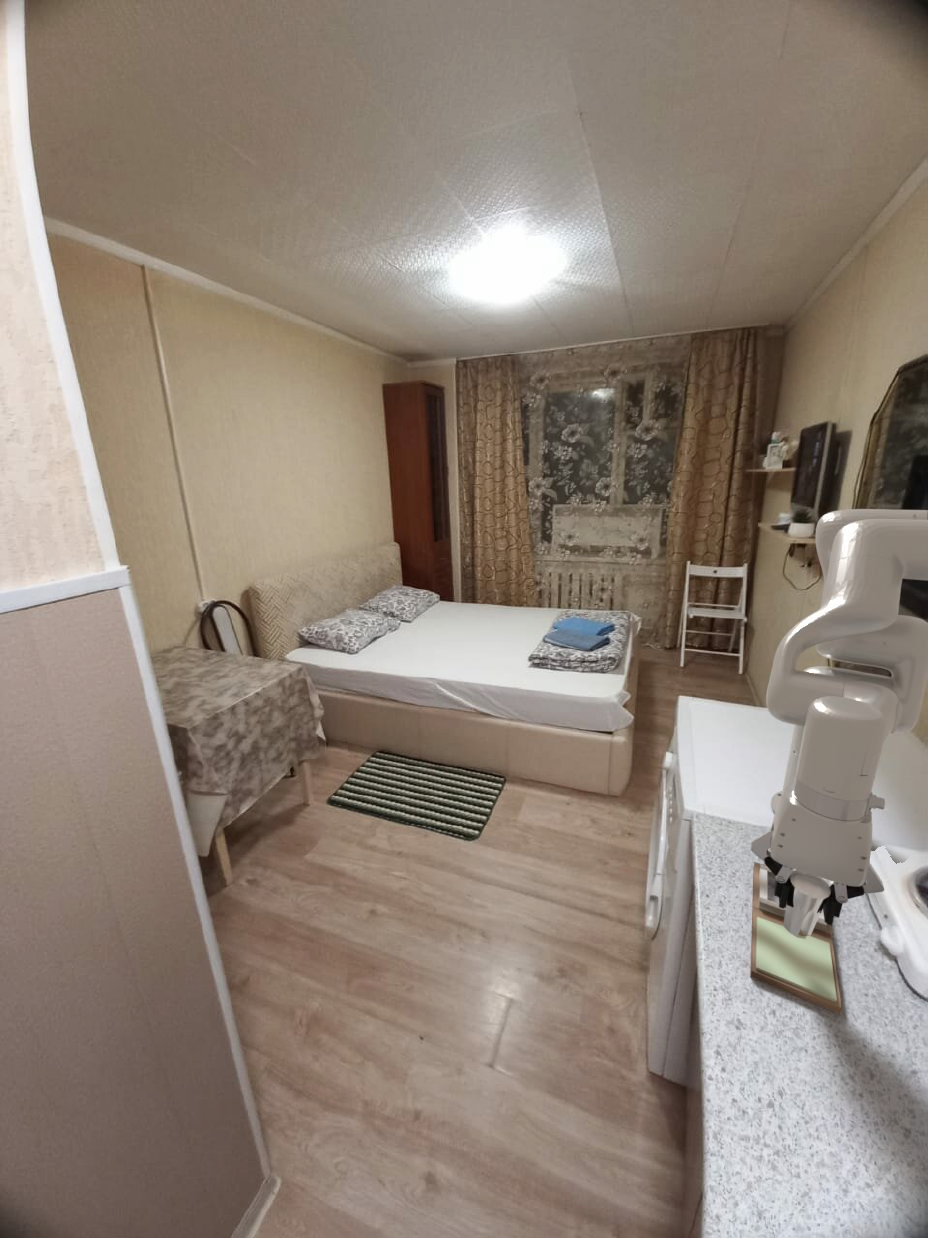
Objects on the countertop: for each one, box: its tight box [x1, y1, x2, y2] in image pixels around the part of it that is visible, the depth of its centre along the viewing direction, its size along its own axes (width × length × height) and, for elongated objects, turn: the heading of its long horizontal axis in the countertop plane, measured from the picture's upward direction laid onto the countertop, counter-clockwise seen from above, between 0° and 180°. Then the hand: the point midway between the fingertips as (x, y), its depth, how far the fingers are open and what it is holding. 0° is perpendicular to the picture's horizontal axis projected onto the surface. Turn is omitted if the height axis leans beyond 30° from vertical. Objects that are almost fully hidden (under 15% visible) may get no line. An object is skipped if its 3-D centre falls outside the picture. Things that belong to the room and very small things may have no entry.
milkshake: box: [783, 869, 834, 939], centre depth 65 cm, size 5×5×10 cm
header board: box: [749, 861, 843, 1016], centre depth 73 cm, size 22×10×2 cm, turn 149°
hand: (804, 907), depth 66 cm, fingers closed on milkshake, 4 cm apart
